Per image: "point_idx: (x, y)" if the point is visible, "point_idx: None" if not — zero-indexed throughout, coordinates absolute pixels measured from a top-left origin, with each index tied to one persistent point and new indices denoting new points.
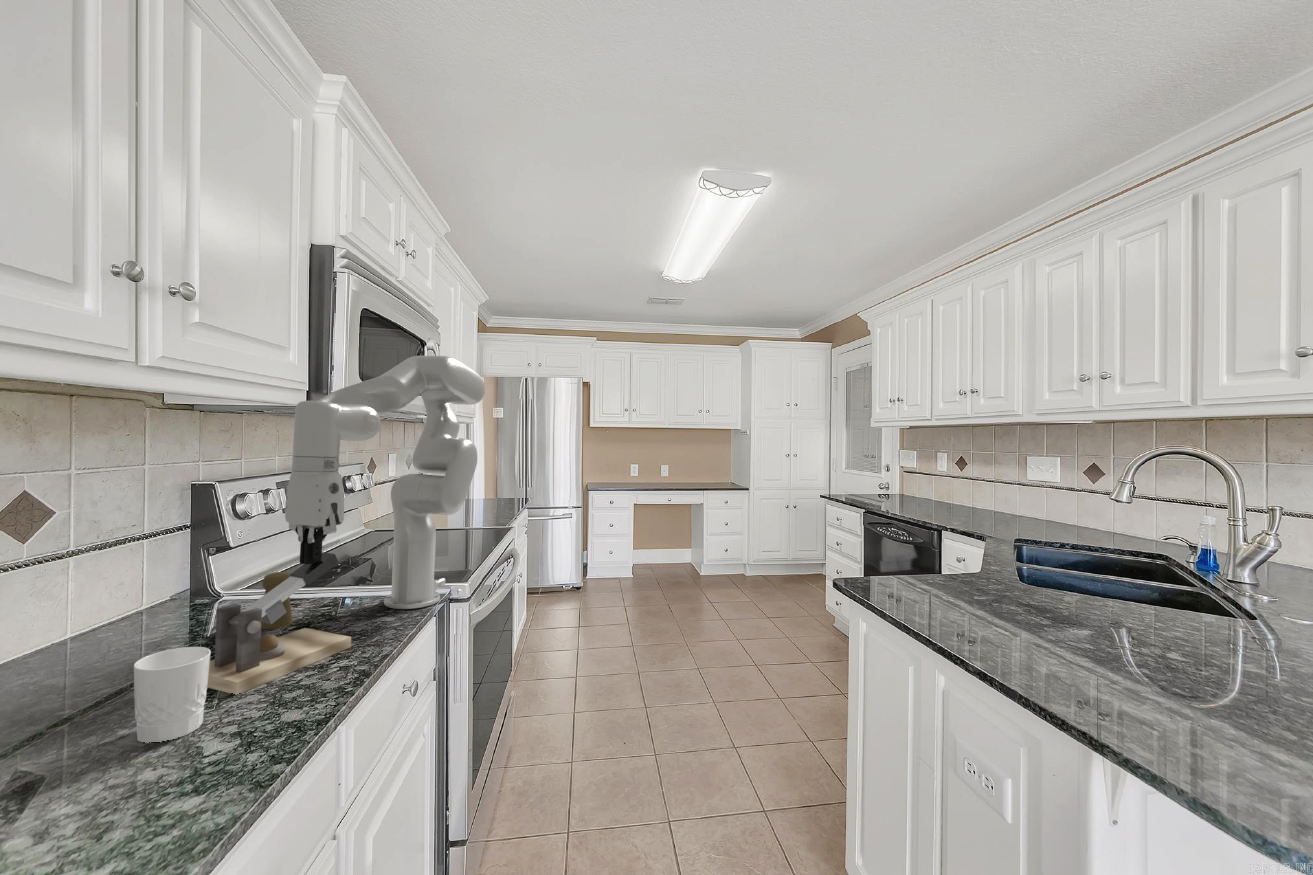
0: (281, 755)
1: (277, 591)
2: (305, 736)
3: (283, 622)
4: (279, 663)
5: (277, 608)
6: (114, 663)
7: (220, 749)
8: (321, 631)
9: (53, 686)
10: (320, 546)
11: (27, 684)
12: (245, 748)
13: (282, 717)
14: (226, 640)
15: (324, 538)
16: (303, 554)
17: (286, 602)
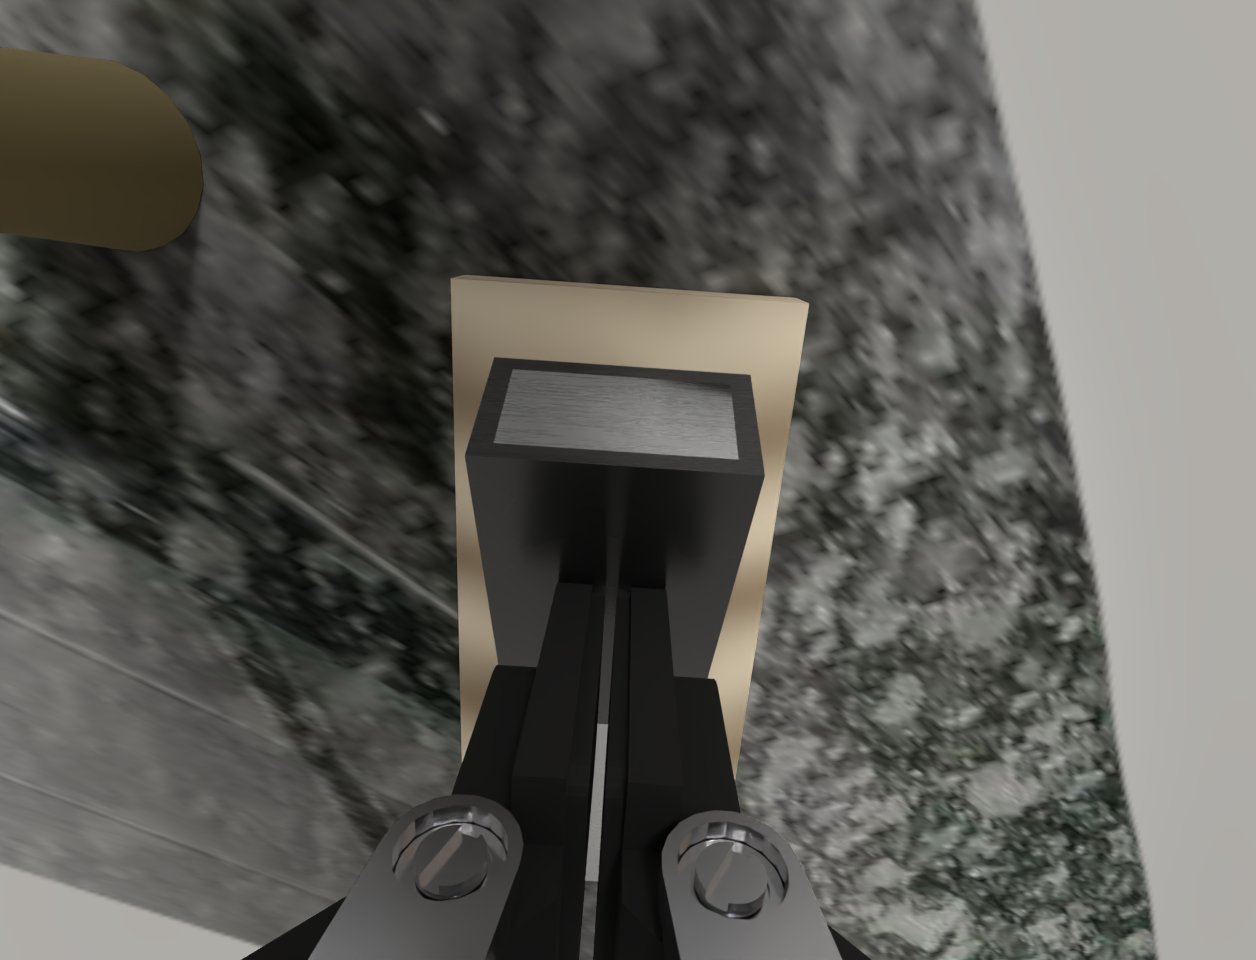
0: (1112, 914)
1: (598, 788)
2: (1116, 852)
3: (182, 179)
4: (737, 649)
5: None
6: (86, 717)
7: (945, 931)
8: (589, 295)
9: (160, 856)
10: (732, 793)
11: (79, 866)
12: (1002, 916)
13: (980, 806)
14: None
15: (798, 883)
16: (588, 837)
17: (69, 134)
